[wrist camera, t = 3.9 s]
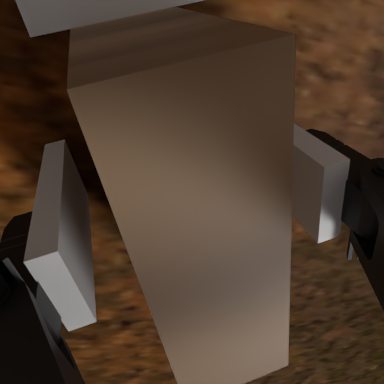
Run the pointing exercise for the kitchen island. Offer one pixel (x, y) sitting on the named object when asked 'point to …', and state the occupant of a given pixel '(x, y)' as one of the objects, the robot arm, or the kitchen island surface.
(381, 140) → the kitchen island surface
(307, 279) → the kitchen island surface
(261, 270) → the bookend
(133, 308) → the kitchen island surface
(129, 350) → the kitchen island surface
